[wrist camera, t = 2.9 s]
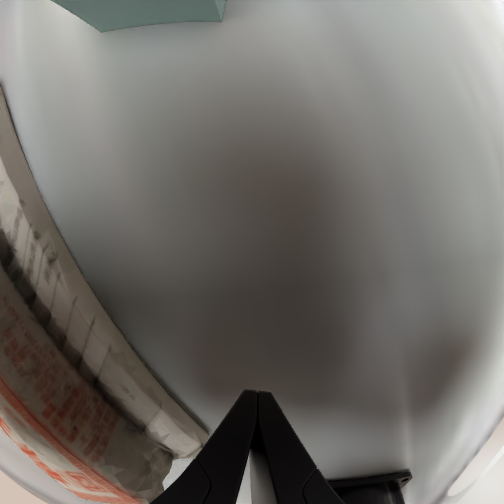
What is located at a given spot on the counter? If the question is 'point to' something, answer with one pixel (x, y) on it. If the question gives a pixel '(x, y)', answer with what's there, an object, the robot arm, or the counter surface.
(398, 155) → the counter surface
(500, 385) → the counter surface
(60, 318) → the packaged product
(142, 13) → the pale teal block
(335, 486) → the robot arm
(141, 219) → the counter surface
